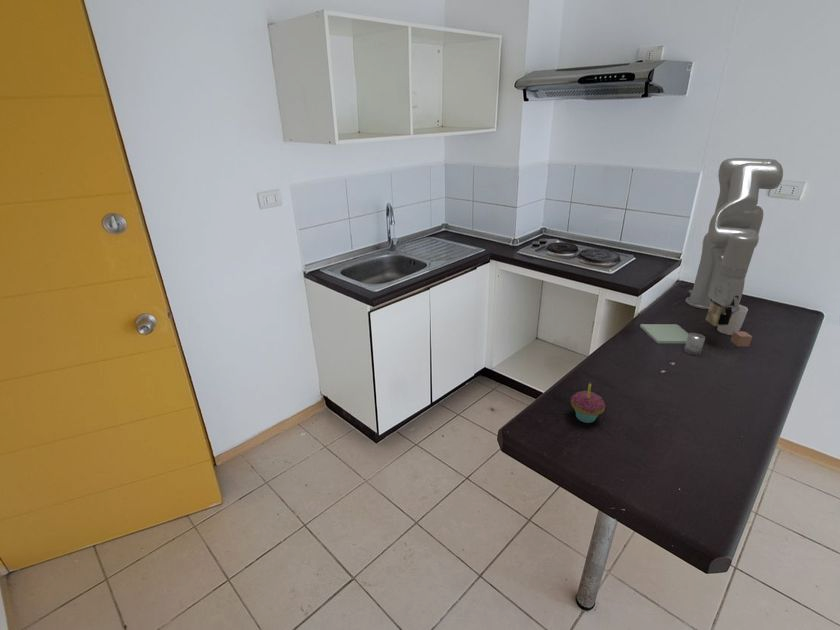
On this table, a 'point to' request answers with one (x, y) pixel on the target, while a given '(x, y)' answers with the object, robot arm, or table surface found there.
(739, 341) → the terracotta cube
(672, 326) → the sage plate
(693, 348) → the grey metal cylinder
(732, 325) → the white cup
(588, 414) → the cupcake
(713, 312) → the maple block
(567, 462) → the table surface
